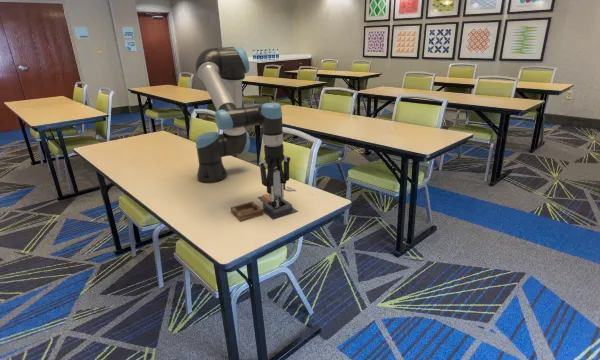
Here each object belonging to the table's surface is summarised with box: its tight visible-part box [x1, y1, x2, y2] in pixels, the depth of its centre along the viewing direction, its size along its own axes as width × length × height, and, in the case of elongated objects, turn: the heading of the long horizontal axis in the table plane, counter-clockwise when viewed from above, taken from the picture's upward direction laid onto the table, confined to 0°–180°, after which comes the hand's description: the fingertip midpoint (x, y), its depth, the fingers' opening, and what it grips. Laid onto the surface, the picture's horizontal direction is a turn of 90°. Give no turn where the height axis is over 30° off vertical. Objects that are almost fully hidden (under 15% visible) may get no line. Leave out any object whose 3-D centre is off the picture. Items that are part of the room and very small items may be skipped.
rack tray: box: [230, 200, 265, 222], centre depth 145 cm, size 10×10×3 cm
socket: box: [256, 195, 299, 221], centre depth 152 cm, size 23×12×3 cm, turn 32°
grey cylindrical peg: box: [272, 167, 282, 208], centre depth 145 cm, size 4×4×17 cm
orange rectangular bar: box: [261, 193, 272, 206], centre depth 154 cm, size 8×2×2 cm, turn 32°
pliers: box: [284, 185, 314, 196], centre depth 164 cm, size 10×2×15 cm
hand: (276, 198), depth 147 cm, fingers closed on grey cylindrical peg, 4 cm apart
